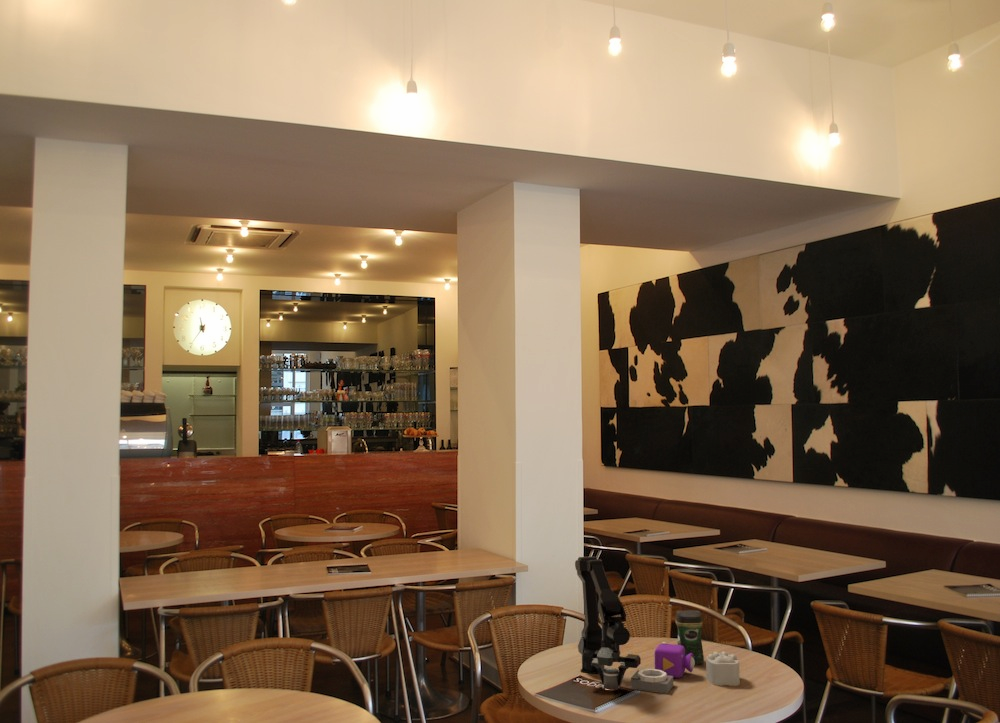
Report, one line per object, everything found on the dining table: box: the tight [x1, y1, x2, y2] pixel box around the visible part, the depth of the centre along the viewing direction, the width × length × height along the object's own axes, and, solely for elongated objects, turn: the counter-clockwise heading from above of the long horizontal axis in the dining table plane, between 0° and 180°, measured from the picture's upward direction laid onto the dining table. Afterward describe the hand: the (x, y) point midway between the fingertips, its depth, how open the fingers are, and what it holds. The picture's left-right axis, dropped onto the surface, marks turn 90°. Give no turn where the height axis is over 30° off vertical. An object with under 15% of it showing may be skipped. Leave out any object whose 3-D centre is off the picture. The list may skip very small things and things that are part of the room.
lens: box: [603, 667, 620, 689], centre depth 275 cm, size 5×5×6 cm
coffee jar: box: [675, 609, 705, 665], centre depth 304 cm, size 10×8×19 cm
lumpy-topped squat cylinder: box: [705, 650, 741, 687], centre depth 284 cm, size 10×13×9 cm
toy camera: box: [654, 641, 696, 679], centre depth 290 cm, size 11×14×10 cm
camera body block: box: [630, 668, 674, 695], centre depth 276 cm, size 12×9×4 cm
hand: (611, 684), depth 275 cm, fingers closed on lens, 5 cm apart
